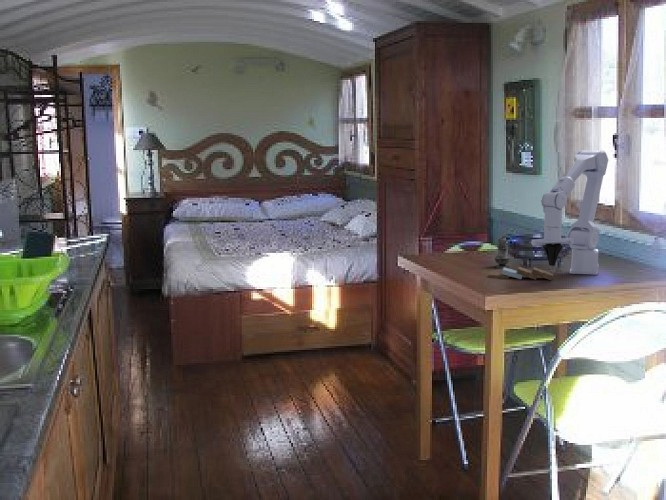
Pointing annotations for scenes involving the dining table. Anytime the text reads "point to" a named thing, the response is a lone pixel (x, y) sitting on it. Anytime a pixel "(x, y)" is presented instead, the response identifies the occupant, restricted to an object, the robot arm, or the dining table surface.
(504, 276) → the domino
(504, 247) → the salt shaker
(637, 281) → the dining table surface
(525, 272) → the domino
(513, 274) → the domino
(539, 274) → the domino
